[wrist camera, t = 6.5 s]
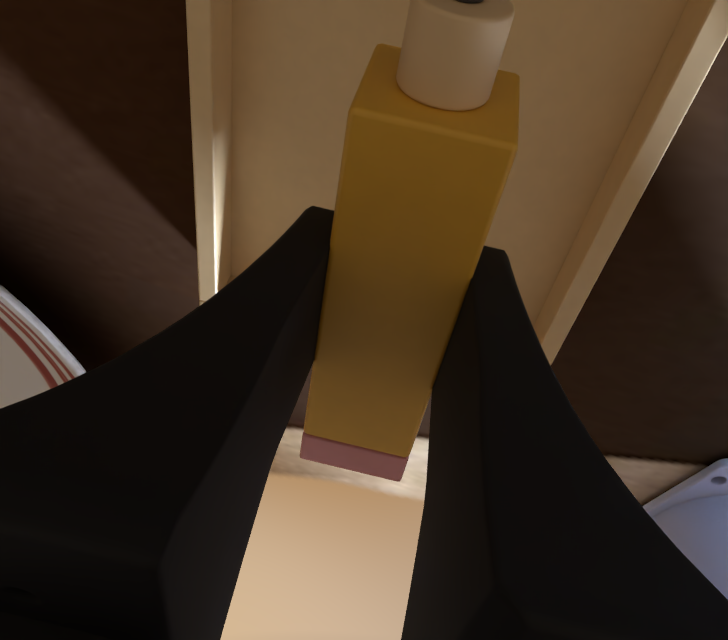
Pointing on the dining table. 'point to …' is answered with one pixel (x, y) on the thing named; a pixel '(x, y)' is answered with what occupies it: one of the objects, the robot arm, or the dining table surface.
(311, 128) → the pen tray
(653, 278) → the dining table surface
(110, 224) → the dining table surface
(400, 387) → the pencil
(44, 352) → the dinner plate
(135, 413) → the robot arm
